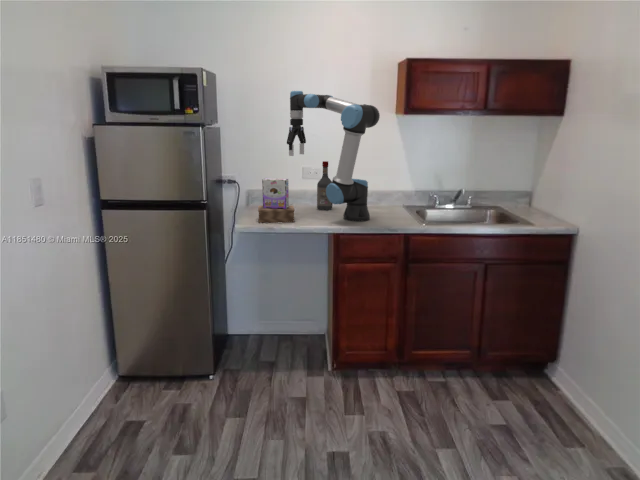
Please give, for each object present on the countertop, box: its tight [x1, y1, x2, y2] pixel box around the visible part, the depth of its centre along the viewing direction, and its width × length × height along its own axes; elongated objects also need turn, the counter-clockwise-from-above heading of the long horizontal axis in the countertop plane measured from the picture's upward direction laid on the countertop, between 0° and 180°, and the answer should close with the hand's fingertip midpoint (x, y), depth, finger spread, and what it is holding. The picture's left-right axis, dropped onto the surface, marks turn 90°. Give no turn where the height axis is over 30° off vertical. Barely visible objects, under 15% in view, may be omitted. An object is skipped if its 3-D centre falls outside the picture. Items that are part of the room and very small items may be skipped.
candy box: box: [261, 177, 290, 209], centre depth 270 cm, size 14×6×16 cm, turn 78°
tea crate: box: [257, 205, 296, 224], centre depth 273 cm, size 20×14×7 cm
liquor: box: [316, 160, 333, 211], centre depth 304 cm, size 9×9×30 cm
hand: (296, 155), depth 288 cm, fingers open, 13 cm apart
